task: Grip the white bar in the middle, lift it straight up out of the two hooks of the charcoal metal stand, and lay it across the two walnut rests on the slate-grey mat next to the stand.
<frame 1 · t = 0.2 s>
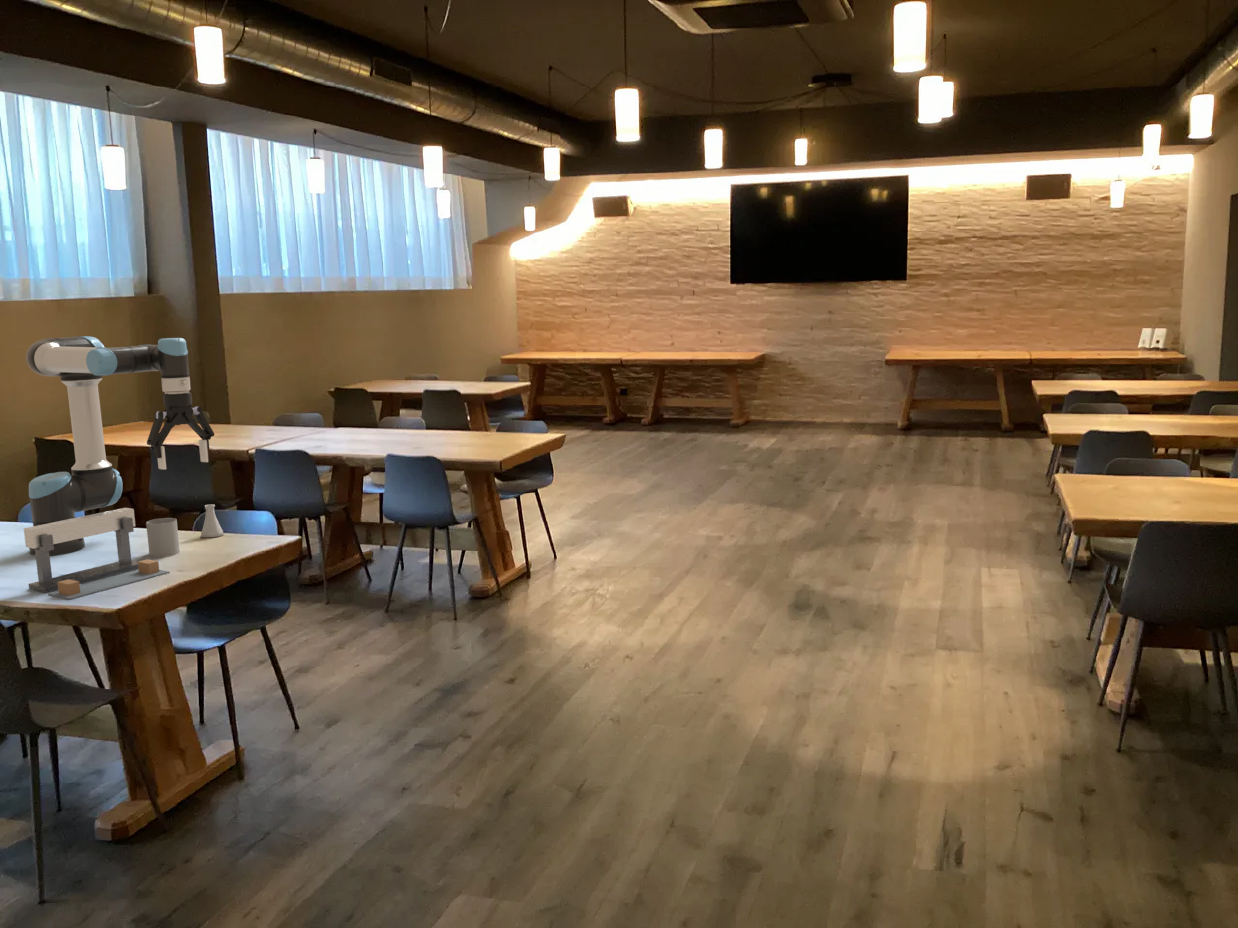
hand: (183, 465, 308), 28 cm above the table, tool pointing down, fingers open, 13 cm apart
white bar: (82, 536, 292), point 12 cm above the table, touching hook stand
cup: (164, 554, 320), on the table
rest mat: (110, 583, 288), on the table
flask: (212, 536, 342), on the table
hook stand: (87, 578, 294), on the table
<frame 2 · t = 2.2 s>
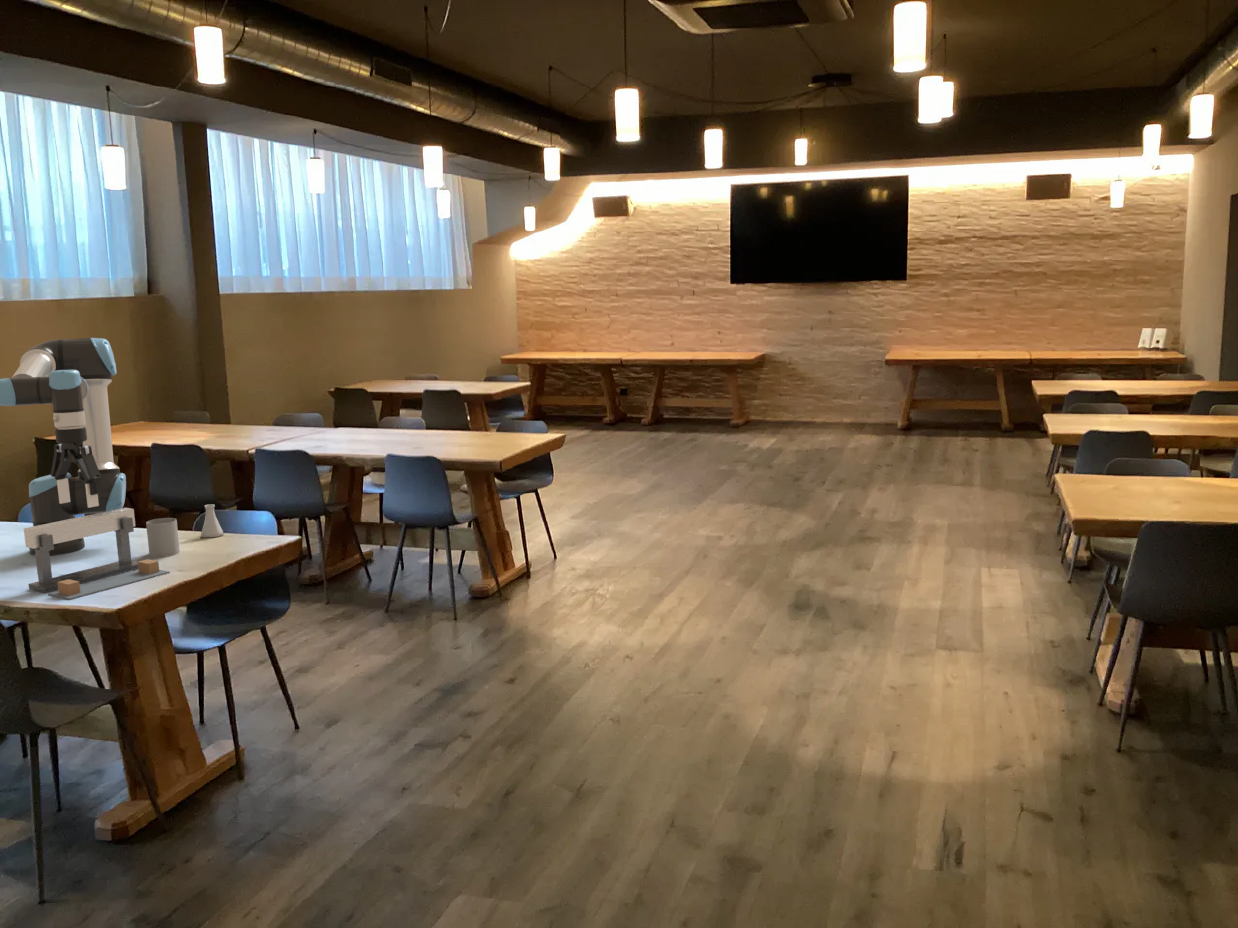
hand: (79, 504, 290), 21 cm above the table, tool pointing down, fingers open, 13 cm apart
nothing on the table moved.
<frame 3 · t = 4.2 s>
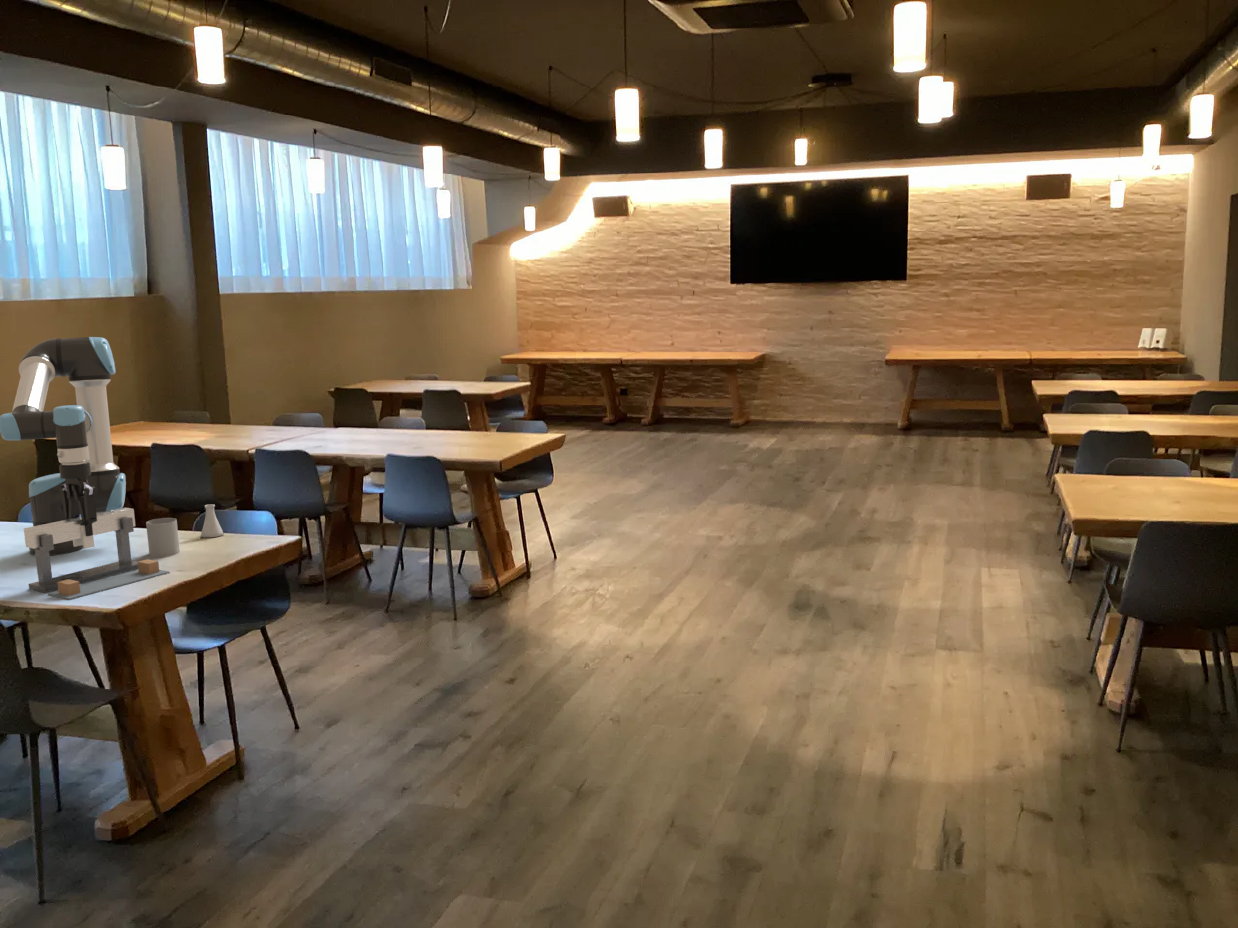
hand: (83, 546, 292), 9 cm above the table, tool pointing down, fingers closed on white bar, 4 cm apart
white bar: (82, 536, 292), point 12 cm above the table, touching gripper, hook stand
everything else where it was.
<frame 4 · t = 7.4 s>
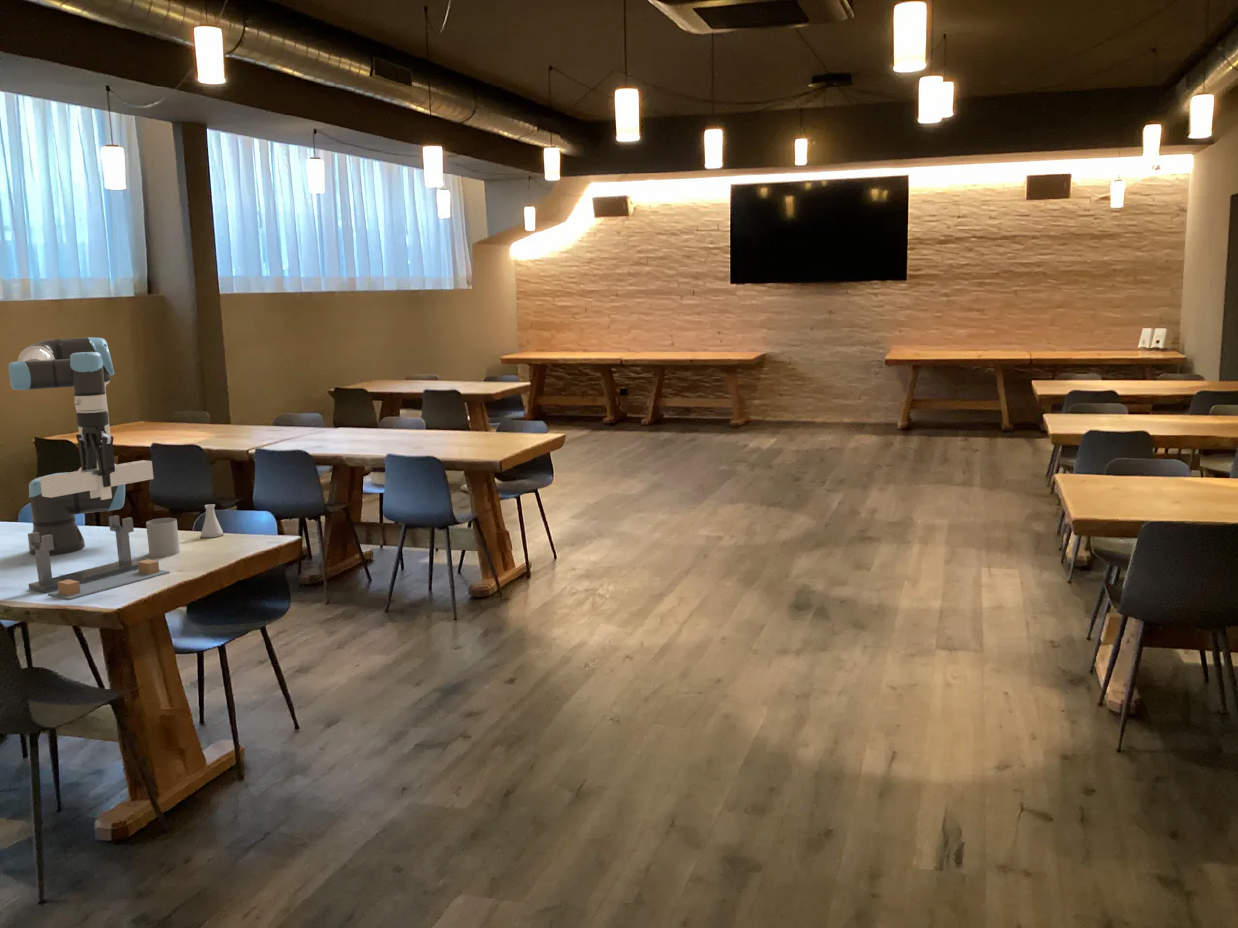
hand: (101, 497, 284), 24 cm above the table, tool pointing down, fingers closed on white bar, 4 cm apart
white bar: (100, 487, 283), point 27 cm above the table, touching gripper
everything else where it was.
when the fingers open (2 cm above the table, at t = 10.9 s): white bar drops 2 cm, resting on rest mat.
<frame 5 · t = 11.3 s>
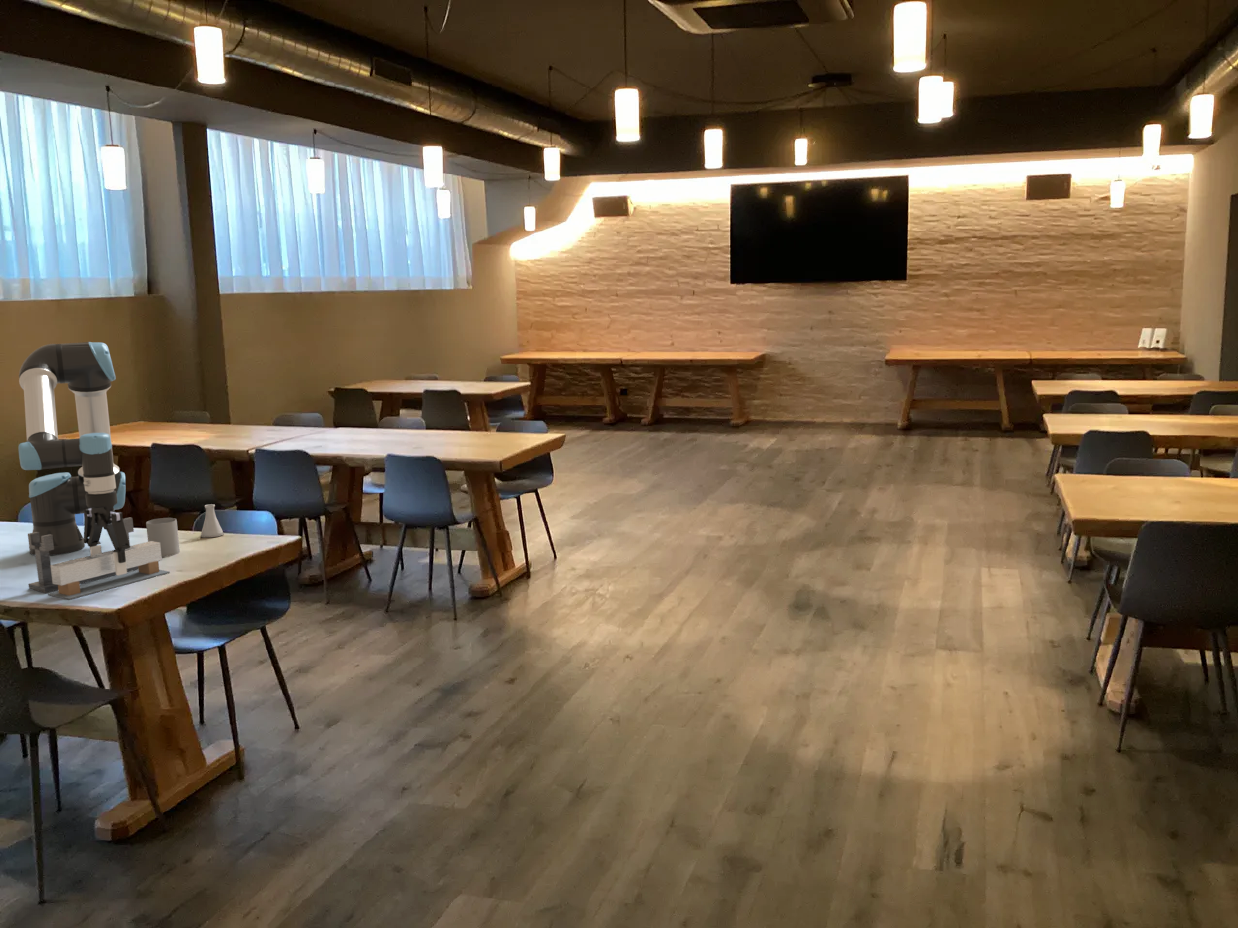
hand: (109, 571, 287), 3 cm above the table, tool pointing down, fingers open, 10 cm apart
white bar: (109, 571, 287), point 3 cm above the table, touching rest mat
everything else where it was.
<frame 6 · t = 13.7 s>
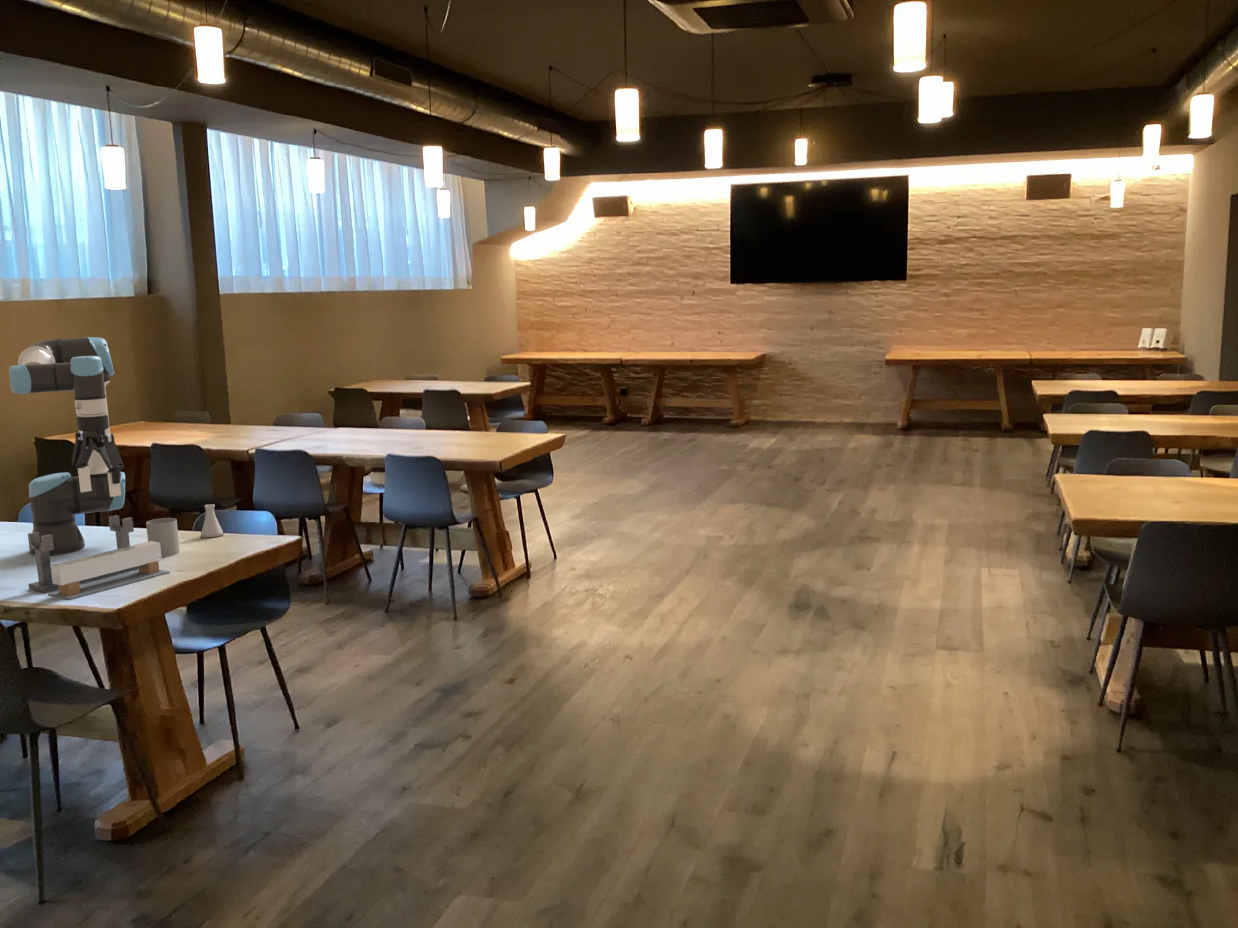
hand: (100, 493, 284), 25 cm above the table, tool pointing down, fingers open, 13 cm apart
nothing on the table moved.
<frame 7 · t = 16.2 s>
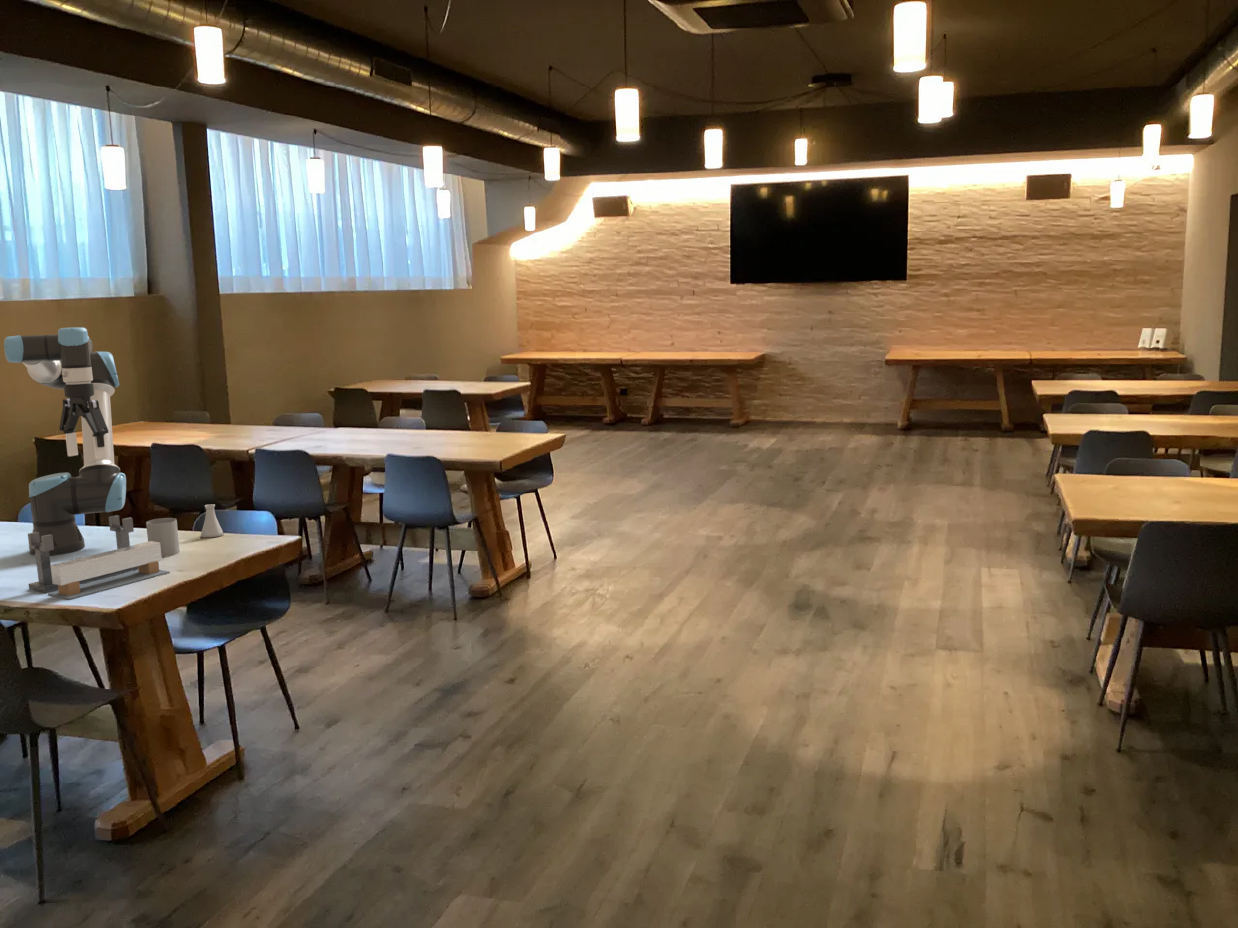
hand: (86, 457, 303), 32 cm above the table, tool pointing down, fingers open, 13 cm apart
nothing on the table moved.
at the end: white bar 0.1 cm off-centre on the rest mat, point 3.4 cm above the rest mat's base; white bar tilted 0°; the gripper is holding nothing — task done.
